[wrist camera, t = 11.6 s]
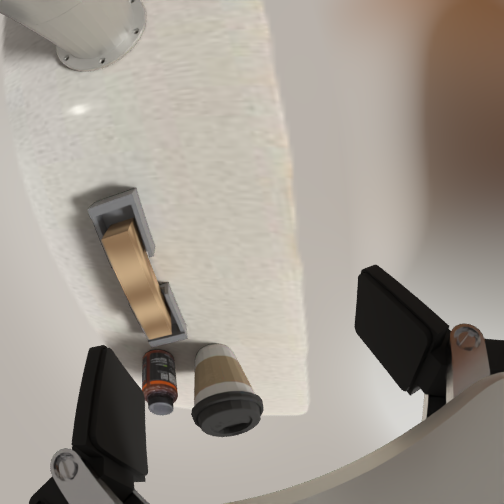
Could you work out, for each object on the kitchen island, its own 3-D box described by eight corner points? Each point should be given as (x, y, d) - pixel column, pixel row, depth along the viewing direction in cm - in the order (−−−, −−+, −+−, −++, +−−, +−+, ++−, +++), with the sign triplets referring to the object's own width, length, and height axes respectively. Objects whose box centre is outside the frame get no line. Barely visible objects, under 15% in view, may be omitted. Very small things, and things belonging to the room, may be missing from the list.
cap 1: (94, 202, 31) (87, 209, 28) (136, 187, 32) (132, 193, 29) (115, 258, 35) (111, 270, 32) (155, 246, 36) (153, 257, 33)
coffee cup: (196, 381, 50) (208, 444, 36) (174, 345, 44) (181, 417, 31) (250, 365, 51) (272, 427, 38) (236, 326, 46) (260, 395, 33)
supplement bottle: (147, 370, 45) (147, 419, 35) (139, 349, 43) (136, 400, 33) (177, 367, 47) (182, 416, 37) (171, 346, 44) (174, 398, 34)
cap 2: (186, 324, 43) (187, 338, 40) (151, 333, 42) (151, 347, 39) (168, 282, 39) (168, 295, 36) (131, 292, 38) (128, 305, 35)
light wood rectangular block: (110, 225, 32) (101, 239, 28) (133, 217, 33) (127, 231, 28) (150, 318, 40) (149, 339, 35) (170, 312, 40) (171, 334, 36)
